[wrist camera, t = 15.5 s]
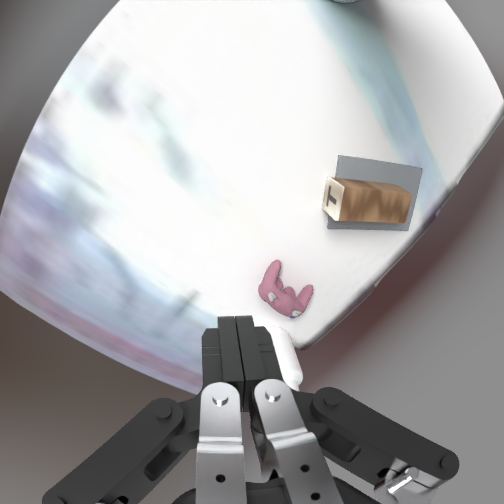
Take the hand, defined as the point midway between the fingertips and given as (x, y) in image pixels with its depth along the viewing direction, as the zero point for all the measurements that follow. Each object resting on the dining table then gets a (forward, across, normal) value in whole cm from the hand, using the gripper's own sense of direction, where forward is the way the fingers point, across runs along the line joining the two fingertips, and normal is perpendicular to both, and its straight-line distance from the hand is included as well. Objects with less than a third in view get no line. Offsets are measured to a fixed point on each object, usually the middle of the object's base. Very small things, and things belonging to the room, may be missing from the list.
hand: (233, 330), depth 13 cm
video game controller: (+31, -12, +19) cm, 39 cm away
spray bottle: (+31, -12, +32) cm, 46 cm away
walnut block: (+28, -16, +2) cm, 33 cm away
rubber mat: (+31, -27, +2) cm, 41 cm away
